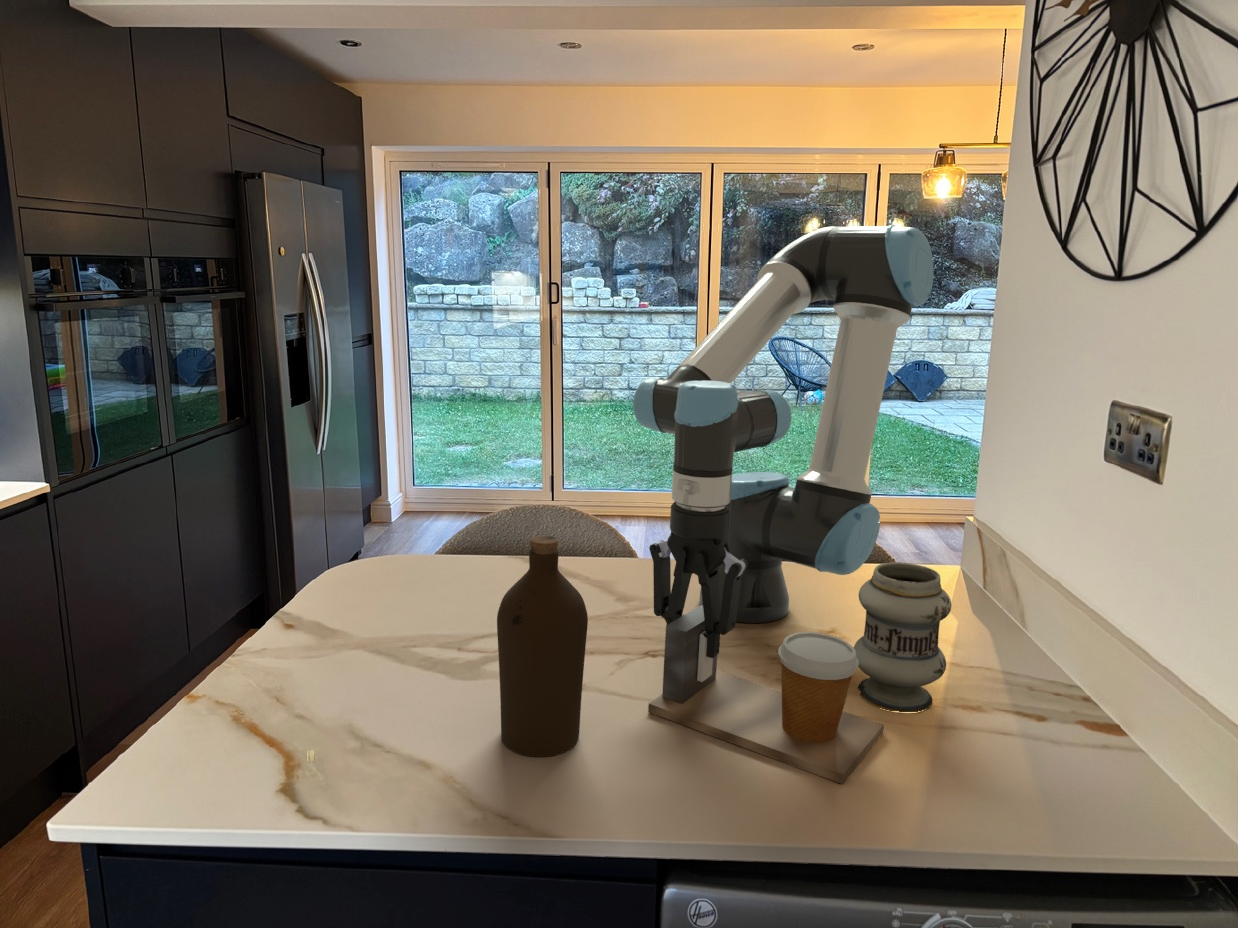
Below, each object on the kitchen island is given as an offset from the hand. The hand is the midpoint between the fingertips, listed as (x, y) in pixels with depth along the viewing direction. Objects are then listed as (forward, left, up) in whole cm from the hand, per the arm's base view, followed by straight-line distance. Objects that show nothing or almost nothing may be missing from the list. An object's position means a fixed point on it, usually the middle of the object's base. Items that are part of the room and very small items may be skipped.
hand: (690, 672), depth 116 cm
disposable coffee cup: (+17, 0, -3) cm, 17 cm away
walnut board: (+11, 0, -3) cm, 12 cm away
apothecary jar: (+22, +18, -4) cm, 29 cm away
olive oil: (-9, -20, -4) cm, 22 cm away
